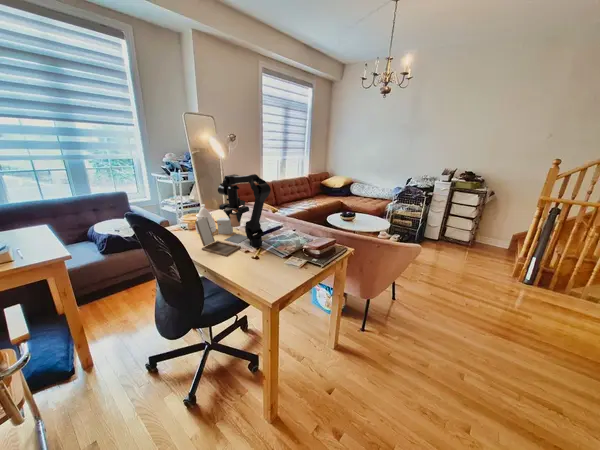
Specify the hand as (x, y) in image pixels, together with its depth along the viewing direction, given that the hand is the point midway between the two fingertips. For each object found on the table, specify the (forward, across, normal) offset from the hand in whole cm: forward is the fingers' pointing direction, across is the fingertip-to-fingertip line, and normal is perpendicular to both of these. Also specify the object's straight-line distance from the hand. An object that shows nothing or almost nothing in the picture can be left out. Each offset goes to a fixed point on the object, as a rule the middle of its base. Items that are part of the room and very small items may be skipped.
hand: (235, 221), depth 148 cm
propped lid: (+3, +9, +15) cm, 18 cm away
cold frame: (+12, +1, +15) cm, 20 cm away
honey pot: (+12, +30, -3) cm, 33 cm away
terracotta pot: (+2, 0, 0) cm, 3 cm away
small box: (+12, +14, -5) cm, 20 cm away
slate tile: (+12, 0, 0) cm, 12 cm away
